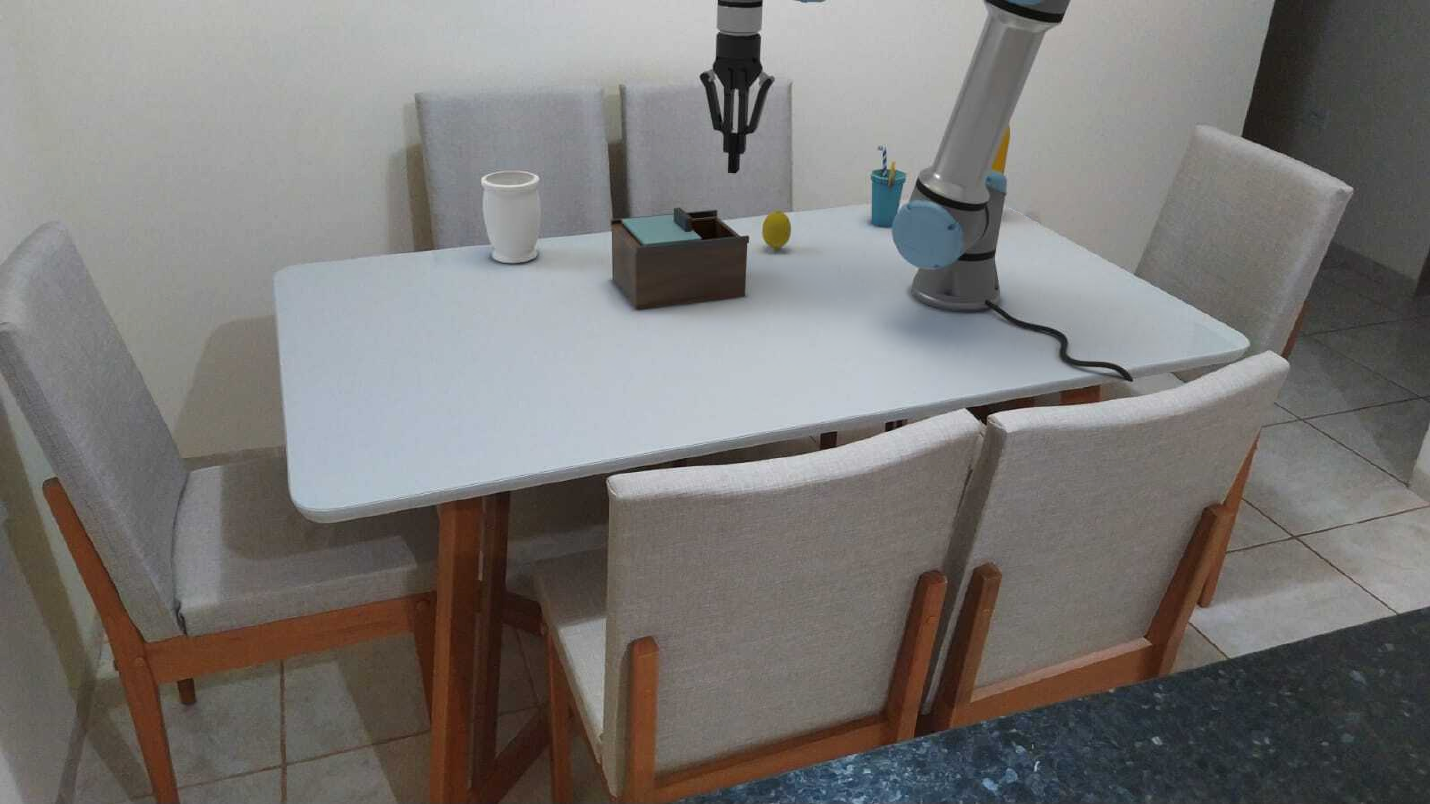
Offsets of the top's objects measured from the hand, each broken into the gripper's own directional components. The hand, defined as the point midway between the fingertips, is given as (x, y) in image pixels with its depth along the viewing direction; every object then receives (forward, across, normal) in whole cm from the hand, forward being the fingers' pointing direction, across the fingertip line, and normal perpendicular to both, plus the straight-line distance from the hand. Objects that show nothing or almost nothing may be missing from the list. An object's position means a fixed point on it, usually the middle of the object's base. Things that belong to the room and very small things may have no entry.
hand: (733, 171), depth 186 cm
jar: (+19, +40, +7) cm, 45 cm away
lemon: (+19, -6, -14) cm, 24 cm away
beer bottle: (+19, -43, -49) cm, 68 cm away
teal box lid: (+8, +9, +14) cm, 18 cm away
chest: (+19, +7, +12) cm, 23 cm away
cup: (+19, -24, -38) cm, 49 cm away
